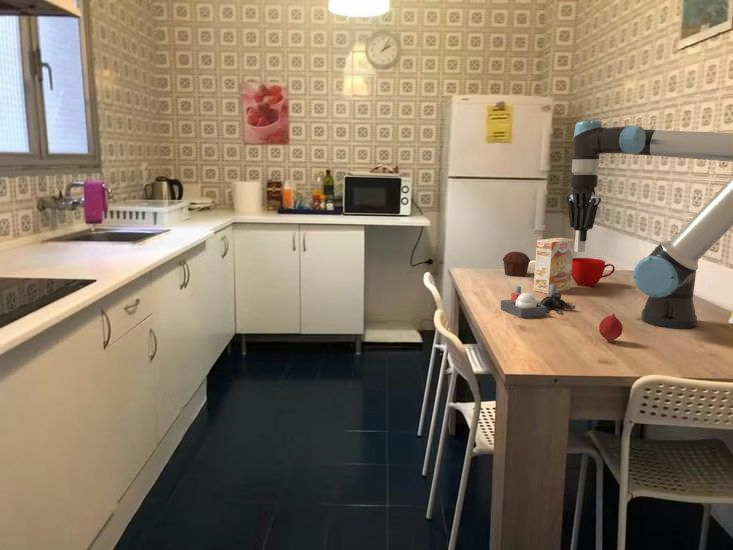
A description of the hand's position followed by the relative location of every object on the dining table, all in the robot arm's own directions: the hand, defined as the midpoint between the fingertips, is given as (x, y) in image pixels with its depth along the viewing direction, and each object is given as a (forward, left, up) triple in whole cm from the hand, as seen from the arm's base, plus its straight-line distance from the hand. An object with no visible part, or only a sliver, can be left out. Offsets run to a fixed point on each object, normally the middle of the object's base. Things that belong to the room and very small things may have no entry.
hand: (579, 251), depth 181 cm
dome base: (+8, +14, -21) cm, 26 cm away
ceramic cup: (+40, -38, -21) cm, 59 cm away
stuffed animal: (+9, 0, -21) cm, 23 cm away
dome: (+6, +14, -20) cm, 25 cm away
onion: (-26, +9, -21) cm, 34 cm away
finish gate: (+19, +2, -21) cm, 28 cm away
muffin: (+67, -21, -21) cm, 74 cm away
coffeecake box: (+36, -17, -21) cm, 45 cm away
